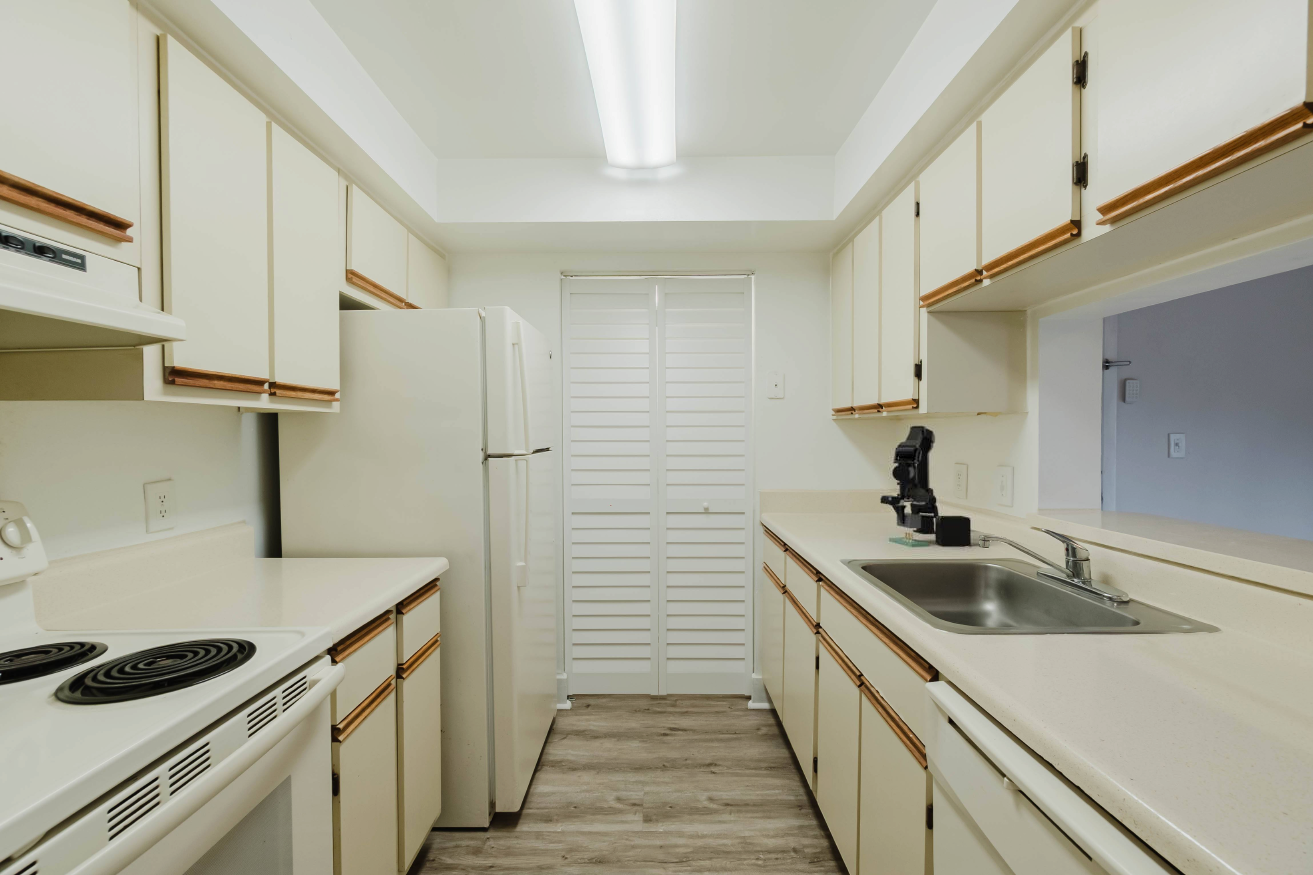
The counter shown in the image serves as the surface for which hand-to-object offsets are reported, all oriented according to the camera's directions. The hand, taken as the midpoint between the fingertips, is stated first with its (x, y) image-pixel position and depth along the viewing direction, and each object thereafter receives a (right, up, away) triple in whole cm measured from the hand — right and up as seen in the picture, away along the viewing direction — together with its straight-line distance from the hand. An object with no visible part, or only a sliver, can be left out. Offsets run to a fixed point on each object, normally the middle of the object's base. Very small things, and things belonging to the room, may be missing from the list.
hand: (908, 523), depth 190 cm
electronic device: (+13, -7, -4) cm, 16 cm away
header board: (0, -7, 0) cm, 7 cm away
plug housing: (0, -1, 0) cm, 1 cm away
